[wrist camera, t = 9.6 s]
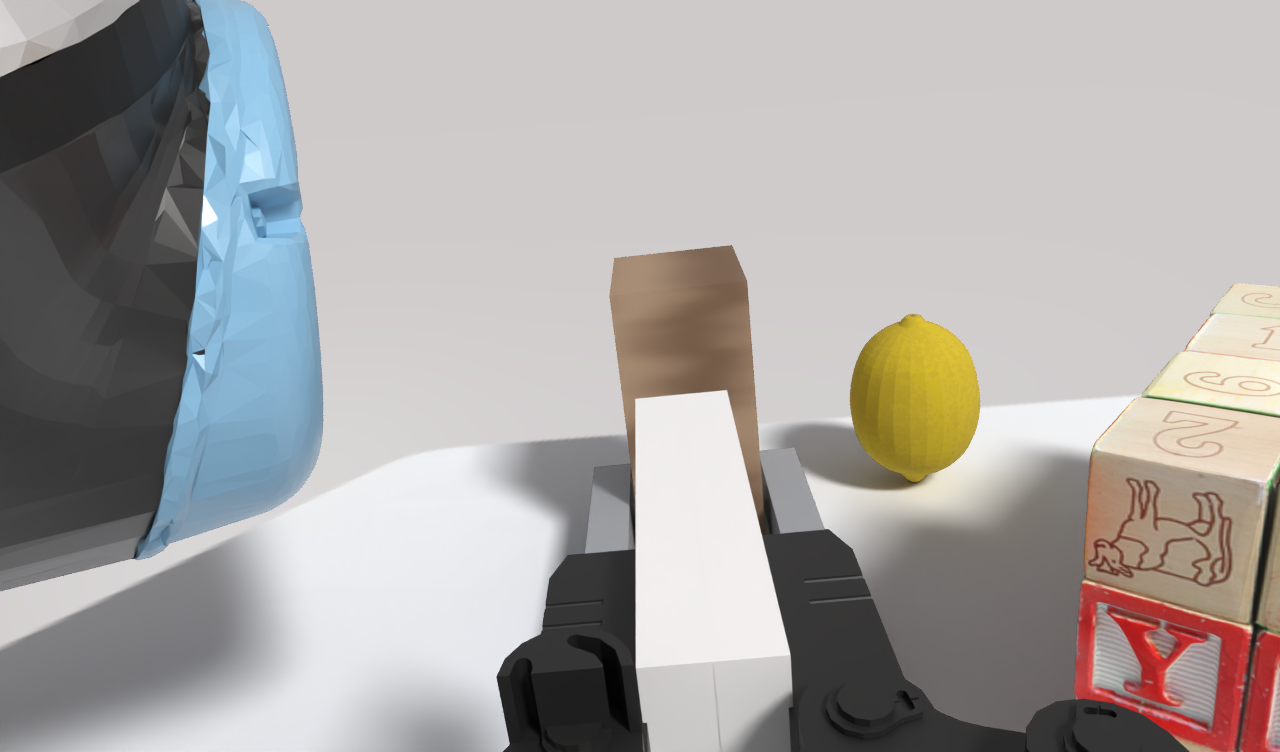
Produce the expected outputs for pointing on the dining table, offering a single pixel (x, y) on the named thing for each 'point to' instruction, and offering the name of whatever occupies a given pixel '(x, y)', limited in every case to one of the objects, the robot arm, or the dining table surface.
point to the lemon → (915, 398)
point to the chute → (780, 487)
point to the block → (687, 339)
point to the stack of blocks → (1192, 540)
